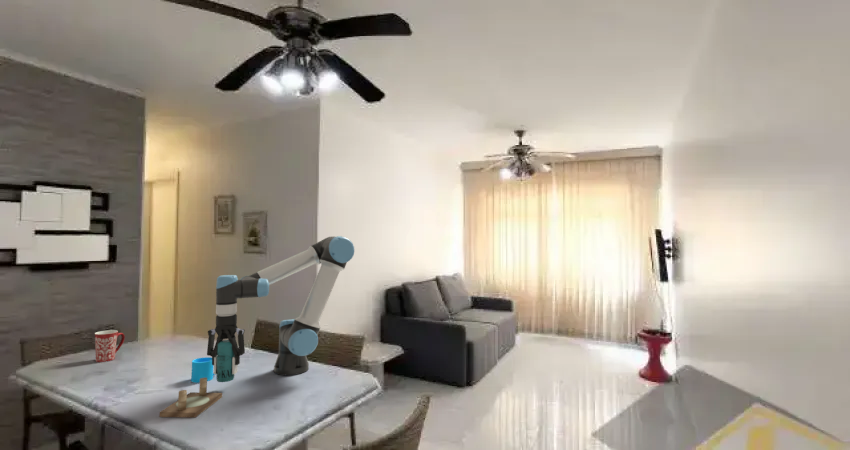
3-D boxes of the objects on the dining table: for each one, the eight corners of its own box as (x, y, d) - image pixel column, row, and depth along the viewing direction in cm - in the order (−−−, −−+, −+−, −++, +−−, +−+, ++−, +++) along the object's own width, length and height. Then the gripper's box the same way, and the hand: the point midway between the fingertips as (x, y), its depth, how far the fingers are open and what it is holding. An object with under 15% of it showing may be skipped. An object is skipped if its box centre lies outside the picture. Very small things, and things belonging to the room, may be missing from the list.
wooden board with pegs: (222, 397, 154) (223, 376, 154) (195, 417, 136) (196, 394, 136) (190, 396, 154) (191, 376, 154) (159, 416, 136) (160, 393, 136)
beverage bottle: (220, 380, 164) (220, 330, 165) (237, 380, 165) (237, 330, 166) (213, 386, 158) (213, 334, 159) (231, 386, 158) (231, 334, 159)
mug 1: (99, 363, 192) (101, 334, 193) (89, 361, 196) (90, 332, 197) (128, 357, 204) (130, 329, 204) (118, 354, 208) (119, 328, 208)
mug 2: (196, 384, 168) (197, 363, 168) (187, 380, 172) (188, 360, 173) (225, 376, 177) (226, 357, 178) (215, 373, 182) (216, 354, 183)
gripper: (254, 312, 166) (254, 370, 165) (207, 312, 166) (206, 370, 165) (246, 316, 159) (246, 376, 158) (196, 316, 159) (195, 376, 158)
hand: (225, 373), depth 162 cm, fingers closed on beverage bottle, 6 cm apart
